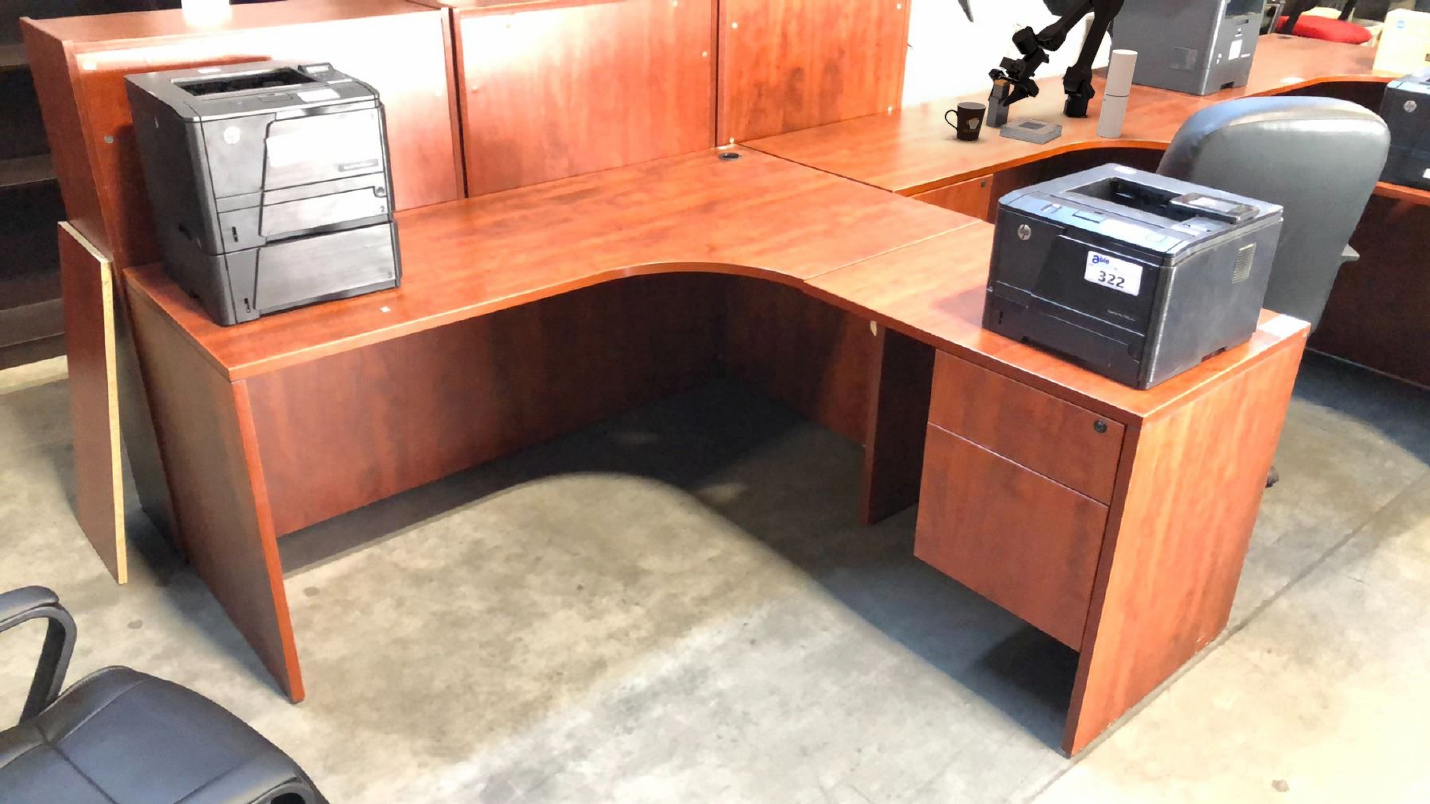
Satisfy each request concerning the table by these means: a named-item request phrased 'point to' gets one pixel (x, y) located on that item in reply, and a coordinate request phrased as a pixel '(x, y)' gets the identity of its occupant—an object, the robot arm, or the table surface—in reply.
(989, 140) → the table surface
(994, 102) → the grey orange-tipped tall block
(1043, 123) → the silver square socket base
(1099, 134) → the cylindrical container
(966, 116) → the coffee mug
